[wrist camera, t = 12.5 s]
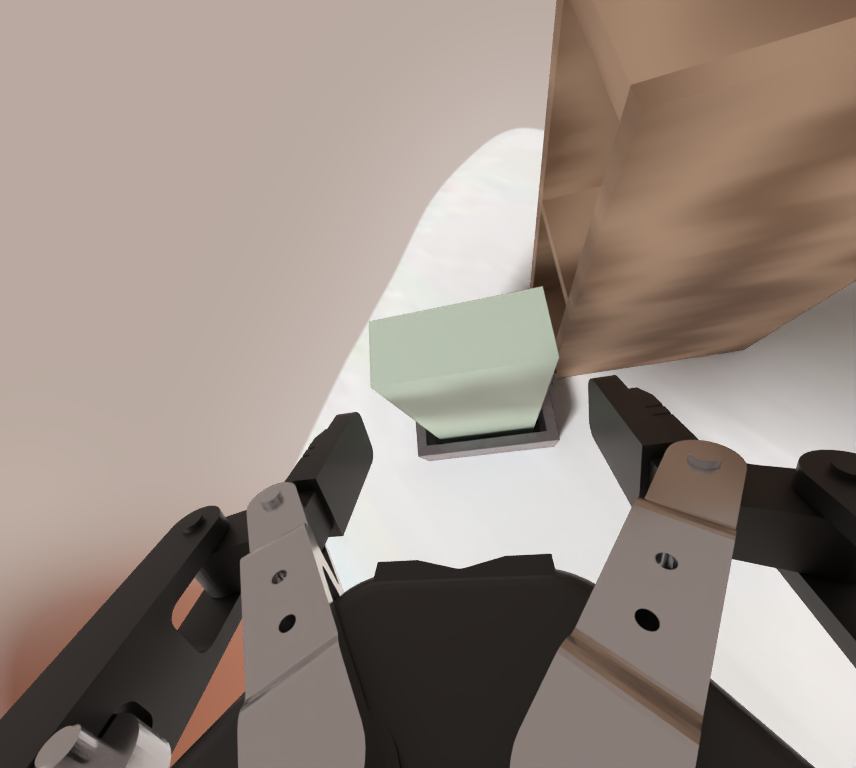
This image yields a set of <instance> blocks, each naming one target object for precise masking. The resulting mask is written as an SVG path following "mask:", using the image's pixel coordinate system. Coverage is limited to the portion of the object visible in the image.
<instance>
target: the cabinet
mask: <svg viewBox="0 0 856 768" xmlns="http://www.w3.org/2000/svg"><path fill="white" fill-rule="evenodd" d="M855 280H856V0H557V2H556V14H555V23H554V34H553V45H552V56H551V67H550V78H549V89H548V99H547V110H546V121H545V132H544V143H543V153H542V164H541V175H540V186H539V197H538V208H537V219H536V229H535V240H534V251H533V262H532V273H531V284H530V289H532V288H537V287H542V286H543V290H544V294H545V299H546V303H547V307H548V311H549V316H550V320H551V324H552V329H553V333H554V337H555V341H556V346H557V350H558V354H559V359H558V362H557V365H556V371H557V374H556V377H555V379H556V378H562V377H569V376H575V375H582V374H588V373H595V372H602V371H608V370H615V369H621V368H628V367H634V366H641V365H647V364H654V363H661V362H667V361H674V360H680V359H687V358H693V357H700V356H706V355H713V354H720V353H726V352H733V351H739V350H744V349H746V348H747V347H749V346H751V345H752V344H754V343H755V342H757V341H759V340H760V339H762V338H764V337H765V336H767V335H768V334H770V333H772V332H773V331H775V330H776V329H778V328H780V327H781V326H783V325H784V324H786V323H788V322H789V321H791V320H793V319H794V318H796V317H797V316H799V315H801V314H802V313H804V312H805V311H807V310H809V309H810V308H812V307H814V306H815V305H817V304H818V303H820V302H822V301H823V300H825V299H826V298H828V297H830V296H831V295H833V294H834V293H836V292H838V291H839V290H841V289H843V288H844V287H846V286H847V285H849V284H851V283H852V282H854V281H855Z"/></svg>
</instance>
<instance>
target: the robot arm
mask: <svg viewBox="0 0 856 768" xmlns="http://www.w3.org/2000/svg"><path fill="white" fill-rule="evenodd" d="M588 395H589V424H590V429H591V433H592V436H593V438H594V440H595V442H596V444H597V445H598V447H599V449H600V451H601V452H602V454H603V456H604V458H605V460H606V461H607V463H608V465H609V467H610V469H611V470H612V472H613V474H614V476H615V478H616V479H617V481H618V483H619V485H620V487H621V488H622V490H623V492H624V494H625V495H626V497H627V499H628V501H629V503H630V504H631V506H632V508H631V510H630V512H629V514H628V517H627V519H626V521H625V523H624V525H623V527H622V529H621V531H620V534H619V536H618V538H617V540H616V542H615V544H614V546H613V548H612V551H611V553H610V555H609V557H608V559H607V561H606V563H605V565H604V568H603V570H602V572H601V574H600V576H599V578H598V580H597V582H596V584H594V583H592V582H591V581H589V580H587V579H584V578H582V577H580V576H578V575H575V574H572V573H569V572H566V571H562V570H557V569H555V567H554V563H553V559H552V555H551V554H537V555H516V556H504V557H500V558H497V559H494V560H490V561H487V562H483V563H480V564H477V565H473V566H470V567H467V568H462V569H456V568H451V567H446V566H442V565H437V564H432V563H428V562H423V561H418V560H412V561H392V562H378V564H377V568H376V572H375V576H374V577H373V578H370V579H368V580H366V581H363V582H361V583H359V584H357V585H356V586H354V587H352V588H350V589H349V590H348V591H346V592H345V593H344V591H343V588H342V585H341V583H340V580H339V577H338V574H337V572H336V569H335V566H334V564H333V561H332V558H331V556H330V553H329V550H328V548H327V546H326V544H325V543H326V541H327V539H328V537H335V536H343V535H344V532H345V530H346V527H347V525H348V522H349V520H350V517H351V515H352V512H353V510H354V507H355V504H356V502H357V499H358V497H359V494H360V492H361V489H362V487H363V484H364V482H365V479H366V476H367V474H368V471H369V469H370V466H371V464H372V460H373V450H372V445H371V443H370V440H369V437H368V434H367V432H366V429H365V426H364V423H363V421H362V418H361V416H360V414H359V413H358V412H353V413H346V414H339V415H337V416H336V417H335V418H334V420H333V421H332V423H331V424H330V426H329V427H328V429H325V430H324V431H323V432H322V433H321V434H319V435H318V436H317V437H316V438H315V439H314V440H313V442H312V443H311V444H310V446H309V447H308V450H306V452H305V453H304V455H303V458H301V459H300V460H299V462H298V463H297V465H296V466H295V468H294V469H293V470H292V472H291V473H290V475H289V476H288V478H287V479H286V480H285V482H282V483H278V484H275V485H272V486H270V487H268V488H266V489H265V490H263V491H262V492H260V493H259V494H258V495H257V496H256V497H254V499H253V500H252V501H251V502H250V504H249V505H248V508H247V510H245V511H242V512H239V513H237V514H233V515H230V516H228V517H225V516H224V515H223V513H222V512H221V510H220V509H219V508H218V507H217V506H207V507H203V508H201V509H198V510H196V511H194V512H192V513H190V514H188V515H187V516H185V517H184V518H183V519H181V520H180V521H179V522H178V523H176V524H175V525H174V526H173V528H171V530H170V531H169V532H168V533H167V534H166V535H165V536H164V537H163V539H162V540H161V541H160V542H159V543H158V544H157V545H156V547H155V548H154V549H153V550H152V551H151V552H150V553H149V554H148V555H147V556H146V558H145V559H144V560H143V561H142V562H141V563H140V564H139V565H138V566H137V568H136V569H135V570H134V571H133V572H132V573H131V574H130V575H129V576H128V578H127V579H126V580H125V581H124V582H123V583H122V584H121V585H120V587H119V588H118V589H117V590H116V591H115V592H114V593H113V594H112V595H111V597H110V598H109V599H108V600H107V601H106V602H105V603H104V604H103V606H102V607H101V608H100V609H99V610H98V611H97V612H96V613H95V614H94V616H93V617H92V618H91V619H90V620H89V621H88V622H87V623H86V625H85V626H84V627H83V628H82V629H81V630H80V631H79V632H78V633H77V635H76V636H75V637H74V638H73V639H72V640H71V641H70V642H69V644H68V645H67V646H66V647H65V648H64V649H63V650H62V651H61V653H60V654H59V655H58V656H57V657H56V658H55V659H54V660H53V661H52V663H51V664H50V665H49V666H48V667H47V668H46V669H45V671H43V673H42V674H41V675H40V676H39V677H38V678H37V680H35V682H34V683H33V684H32V685H31V686H30V687H29V688H28V689H27V690H26V692H25V693H24V694H23V695H22V696H21V697H20V698H19V699H18V700H17V702H16V703H15V704H14V705H13V706H12V707H11V708H10V709H9V710H8V712H7V713H6V714H5V715H4V716H3V717H2V718H1V719H0V768H169V765H170V761H171V754H172V752H173V751H174V749H175V747H176V745H177V743H178V741H179V739H180V737H181V735H182V733H183V731H184V729H185V727H186V725H187V723H188V721H189V720H190V718H191V715H192V714H193V712H194V710H195V708H196V706H197V704H198V702H199V700H200V698H201V696H202V694H203V692H204V691H205V689H206V687H207V685H208V683H209V681H210V679H211V677H212V675H213V673H214V671H215V669H216V667H217V665H218V663H219V661H220V659H221V658H222V655H223V654H224V652H225V650H226V648H227V646H228V644H229V642H230V640H231V638H232V636H233V634H234V632H235V630H236V629H237V627H238V625H239V623H240V621H241V619H242V622H243V644H244V668H245V689H246V690H245V692H244V693H243V694H242V695H241V696H240V697H239V699H237V701H235V702H234V703H233V704H232V705H231V707H230V708H228V709H227V711H226V712H225V713H224V714H223V715H222V716H221V717H220V718H219V719H218V720H217V721H216V722H215V723H214V724H213V725H212V726H211V727H210V728H209V729H208V730H207V731H206V732H205V733H204V734H203V735H202V736H201V737H200V738H199V739H198V740H197V741H196V742H195V743H194V744H193V745H192V746H191V747H190V748H189V749H188V750H187V751H186V752H185V753H184V754H183V756H181V758H179V760H178V761H177V762H176V763H175V764H174V765H173V766H172V767H171V768H815V767H814V766H813V765H811V764H810V763H809V762H808V761H807V760H806V759H804V758H803V757H802V756H801V755H800V754H798V753H797V752H796V751H795V750H794V749H793V748H791V747H790V746H789V745H788V744H787V743H786V742H784V741H783V740H782V739H781V738H780V737H779V736H777V735H776V734H775V733H774V732H773V731H772V730H770V729H769V728H768V727H767V726H766V725H765V724H763V723H762V722H761V721H760V720H759V719H757V718H756V717H755V716H754V715H753V714H752V713H750V712H749V711H748V710H747V709H746V708H745V707H743V706H742V705H741V704H740V703H739V702H738V701H736V700H735V699H734V698H733V697H732V696H731V695H729V694H728V693H727V692H726V691H725V690H724V689H722V688H721V687H720V686H719V685H718V684H716V683H715V682H714V681H713V680H712V679H711V678H710V676H711V671H712V665H713V660H714V654H715V649H716V643H717V638H718V632H719V627H720V621H721V615H722V610H723V604H724V599H725V593H726V588H727V582H728V577H729V571H730V566H731V560H732V559H735V560H740V561H744V562H749V563H754V564H759V565H764V566H769V567H774V568H777V569H778V571H779V572H780V573H781V575H782V576H783V577H784V578H785V580H786V581H787V582H788V583H789V585H790V586H791V587H792V588H793V590H794V591H795V592H796V593H797V595H798V596H799V597H800V598H801V600H802V601H803V602H804V604H805V605H806V606H807V607H808V609H809V610H810V611H811V612H812V614H813V615H814V616H815V617H816V619H817V620H818V621H819V622H820V624H821V625H822V626H823V627H824V629H825V630H826V631H827V633H828V634H829V635H830V636H831V638H832V639H833V640H834V641H835V643H836V644H837V645H838V646H839V648H840V649H841V650H842V651H843V653H844V654H845V655H846V656H847V658H848V659H849V660H850V662H851V663H852V664H853V665H854V667H855V668H856V453H851V452H846V451H838V450H816V451H811V452H807V453H805V454H803V455H802V456H801V457H800V458H799V461H798V464H797V467H796V469H792V468H782V467H772V466H761V465H753V464H747V463H746V462H745V461H744V459H743V458H742V457H741V456H740V455H739V454H737V453H736V452H735V451H733V450H731V449H729V448H727V447H725V446H723V445H720V444H717V443H713V442H709V441H703V440H698V439H697V438H696V437H695V436H694V435H693V434H692V433H691V432H690V431H689V430H688V429H687V428H686V427H685V426H684V425H683V424H682V423H681V422H680V421H679V420H678V419H677V418H676V417H675V416H674V415H673V414H671V413H670V411H669V410H668V409H667V408H666V407H665V406H662V403H661V402H660V401H659V400H658V399H656V398H655V397H654V396H653V395H652V394H650V393H648V392H646V391H643V390H641V389H639V388H630V389H628V388H627V386H626V385H625V384H624V383H623V382H622V381H621V380H620V379H619V378H618V377H617V376H616V375H612V376H605V377H599V378H592V379H590V380H589V383H588ZM194 577H195V578H196V580H197V581H198V582H199V583H200V584H201V585H202V587H203V588H204V591H203V592H202V594H201V595H200V597H199V598H198V600H197V602H196V603H195V605H194V606H193V608H192V609H191V610H190V612H189V614H188V615H187V617H186V618H185V620H184V621H183V623H182V624H181V626H180V627H179V629H178V630H176V629H175V628H174V626H173V624H172V620H171V619H172V612H173V609H174V606H175V604H176V603H177V601H178V600H179V598H180V597H181V595H182V594H183V593H184V591H185V590H186V588H187V587H188V586H189V584H190V583H191V581H192V580H193V579H194Z"/></svg>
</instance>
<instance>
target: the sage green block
mask: <svg viewBox="0 0 856 768" xmlns="http://www.w3.org/2000/svg"><path fill="white" fill-rule="evenodd" d="M369 344H370V378H371V388H372V389H373V390H375V391H376V392H377V393H379V394H380V395H381V396H383V397H384V398H385V399H387V400H388V401H389V402H391V403H392V404H393V405H395V406H396V407H397V408H399V409H400V410H401V411H403V412H404V413H405V414H407V415H408V416H410V417H411V418H412V419H414V420H415V421H416V422H418V423H419V424H420V425H422V426H423V427H424V428H426V429H427V430H428V431H430V432H431V433H432V434H434V435H435V436H436V437H438V438H439V439H440V440H442V441H443V442H444V443H446V444H447V443H455V442H463V441H471V440H479V439H487V438H495V437H503V436H511V435H519V434H527V433H532V432H533V429H534V426H535V423H536V420H537V418H538V415H539V412H540V409H541V406H542V404H543V401H544V398H545V395H546V393H547V390H548V387H549V384H550V381H551V379H552V376H553V373H554V370H555V367H556V365H557V362H558V359H559V354H558V350H557V346H556V341H555V337H554V333H553V329H552V324H551V320H550V316H549V311H548V307H547V303H546V299H545V294H544V290H543V286H542V287H537V288H532V289H527V290H522V291H517V292H512V293H507V294H502V295H497V296H492V297H488V298H483V299H478V300H473V301H468V302H463V303H458V304H453V305H448V306H443V307H438V308H433V309H428V310H423V311H418V312H414V313H409V314H404V315H399V316H394V317H389V318H384V319H379V320H374V321H369Z"/></svg>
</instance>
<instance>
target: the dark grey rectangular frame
mask: <svg viewBox="0 0 856 768" xmlns="http://www.w3.org/2000/svg"><path fill="white" fill-rule="evenodd" d="M556 374H557V371H556V367H555V370H554V373H553V376H552V379H551V381H550V384H549V385H552V384H553V382H554V379H555V377H556ZM538 418H539V423H540V428H541V432H536V433H527V434H519V435H511V436H503V437H495V438H487V439H479V440H471V441H463V442H455V443H447V444H439V445H436V441H435V435H434V434H432V433H431V432H430V431H428V430H427V429H426V428H424V427H423V426H422V425H420V424H419V423H418V422H416V431H417V444H418V457H421V458H423V459H426V460H428V461H433V460H442V459H450V458H459V457H468V456H476V455H485V454H494V453H502V452H511V451H520V450H528V449H537V448H546V447H554V446H555V445H556V443H557V442H558V441H559V440H560V439H559V434H558V430H557V425H556V420H555V416H554V411H553V407H552V402H551V398H550V393H549V388H548V390H547V393H546V395H545V398H544V401H543V404H542V406H541V409H540V412H539V415H538Z"/></svg>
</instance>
